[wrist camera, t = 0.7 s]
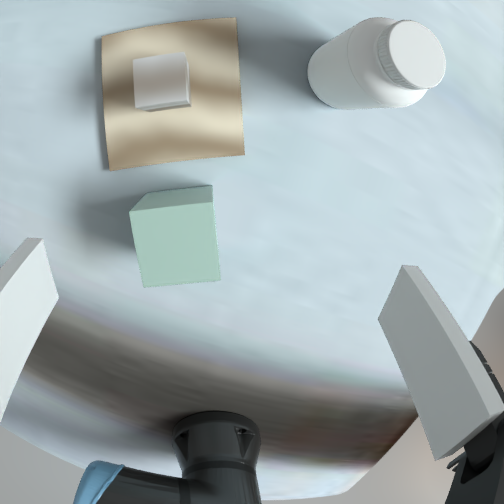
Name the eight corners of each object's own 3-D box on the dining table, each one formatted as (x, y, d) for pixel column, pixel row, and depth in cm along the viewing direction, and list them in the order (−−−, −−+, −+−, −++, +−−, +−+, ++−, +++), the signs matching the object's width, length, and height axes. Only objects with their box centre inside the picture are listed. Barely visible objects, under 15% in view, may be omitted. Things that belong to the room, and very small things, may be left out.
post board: (243, 154, 32) (253, 160, 25) (112, 170, 30) (87, 181, 23) (235, 20, 26) (242, -7, 19) (104, 38, 25) (79, 18, 18)
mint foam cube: (218, 247, 35) (220, 280, 28) (156, 254, 34) (143, 287, 27) (212, 185, 32) (212, 201, 25) (147, 192, 32) (128, 211, 24)
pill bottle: (295, 94, 30) (358, 72, 16) (317, 33, 27) (385, -17, 14) (359, 122, 32) (447, 126, 18) (378, 63, 29) (466, 41, 15)
